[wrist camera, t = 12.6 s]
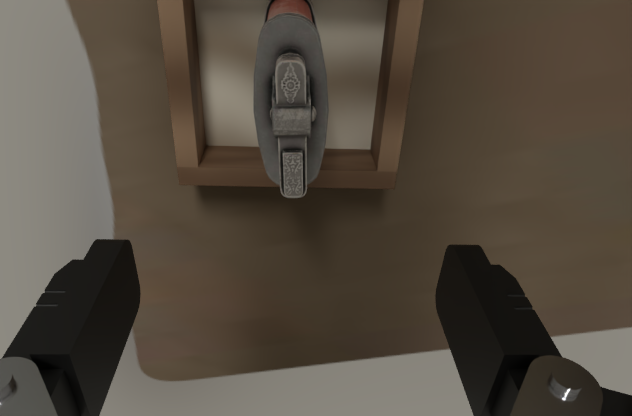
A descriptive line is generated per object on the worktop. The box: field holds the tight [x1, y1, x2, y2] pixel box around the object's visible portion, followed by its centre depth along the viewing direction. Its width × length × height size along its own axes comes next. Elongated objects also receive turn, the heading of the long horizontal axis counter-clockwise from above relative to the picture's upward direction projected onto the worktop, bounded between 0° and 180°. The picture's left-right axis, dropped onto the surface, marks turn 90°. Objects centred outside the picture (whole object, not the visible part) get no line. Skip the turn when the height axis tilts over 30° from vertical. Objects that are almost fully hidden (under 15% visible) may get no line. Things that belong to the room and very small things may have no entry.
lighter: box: [253, 0, 329, 198], centre depth 24 cm, size 8×3×10 cm, turn 0°
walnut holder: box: [157, 0, 424, 189], centre depth 27 cm, size 13×13×4 cm
